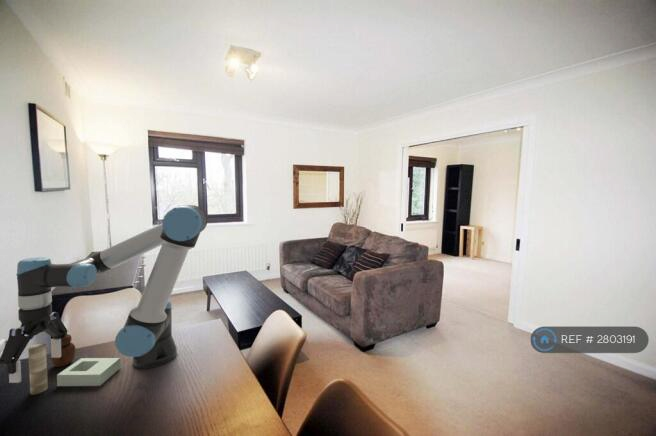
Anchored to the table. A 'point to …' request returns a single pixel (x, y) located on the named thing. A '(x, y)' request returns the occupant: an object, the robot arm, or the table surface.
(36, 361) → the dowel
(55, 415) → the table surface
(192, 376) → the table surface
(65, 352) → the wooden figurine
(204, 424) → the table surface
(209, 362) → the table surface
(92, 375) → the socket block
